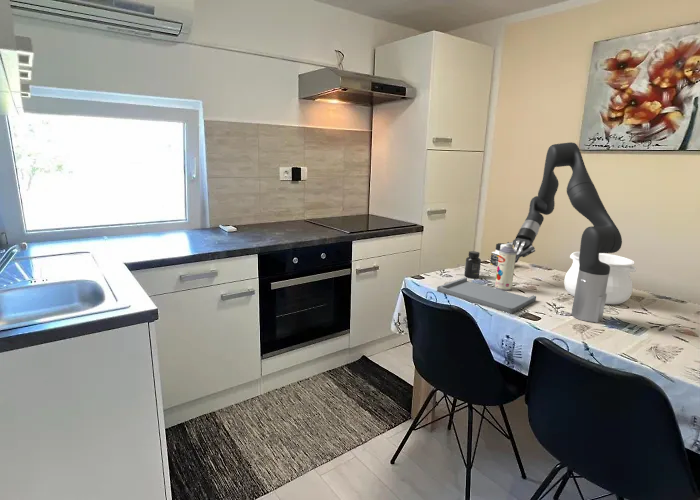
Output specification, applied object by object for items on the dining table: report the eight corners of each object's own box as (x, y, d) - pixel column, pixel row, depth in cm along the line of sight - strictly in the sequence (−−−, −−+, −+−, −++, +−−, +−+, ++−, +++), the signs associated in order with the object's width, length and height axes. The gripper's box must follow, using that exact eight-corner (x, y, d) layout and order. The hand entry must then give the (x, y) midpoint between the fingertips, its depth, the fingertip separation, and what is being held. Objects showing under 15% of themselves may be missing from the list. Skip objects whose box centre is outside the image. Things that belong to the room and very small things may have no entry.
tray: (535, 300, 161) (536, 296, 160) (511, 314, 146) (512, 308, 145) (464, 281, 183) (464, 277, 183) (436, 291, 168) (437, 286, 167)
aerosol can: (492, 285, 178) (497, 241, 174) (506, 285, 179) (512, 242, 174) (499, 290, 172) (504, 245, 167) (514, 290, 172) (520, 245, 168)
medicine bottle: (489, 264, 215) (492, 242, 212) (499, 263, 218) (502, 242, 215) (499, 268, 208) (502, 245, 206) (509, 267, 211) (512, 244, 209)
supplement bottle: (480, 276, 192) (483, 252, 189) (476, 279, 187) (479, 254, 184) (466, 273, 196) (469, 249, 193) (462, 276, 190) (464, 252, 188)
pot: (548, 290, 175) (554, 252, 171) (583, 284, 186) (590, 248, 182) (608, 310, 153) (616, 268, 149) (643, 302, 164) (652, 262, 160)
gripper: (512, 224, 185) (496, 254, 179) (541, 229, 176) (526, 260, 170) (515, 235, 190) (500, 264, 184) (544, 239, 181) (529, 270, 175)
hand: (512, 262), depth 177 cm, fingers closed
